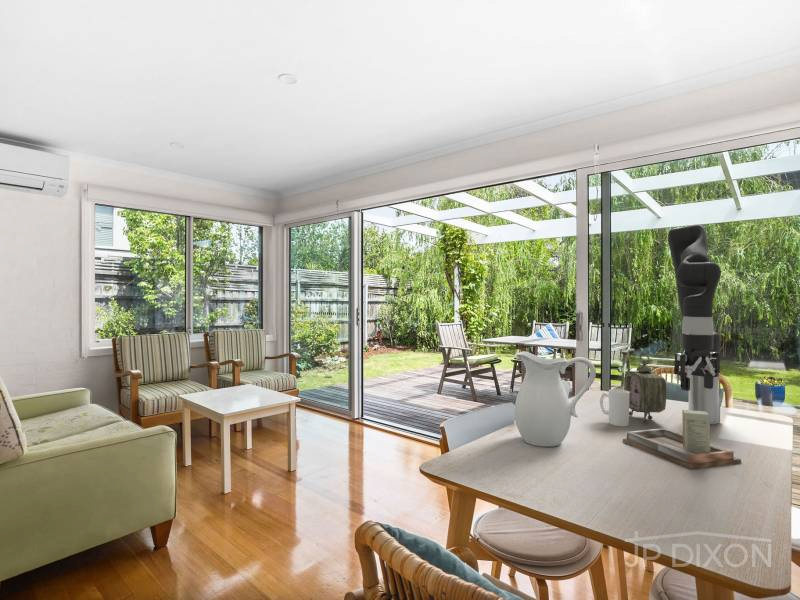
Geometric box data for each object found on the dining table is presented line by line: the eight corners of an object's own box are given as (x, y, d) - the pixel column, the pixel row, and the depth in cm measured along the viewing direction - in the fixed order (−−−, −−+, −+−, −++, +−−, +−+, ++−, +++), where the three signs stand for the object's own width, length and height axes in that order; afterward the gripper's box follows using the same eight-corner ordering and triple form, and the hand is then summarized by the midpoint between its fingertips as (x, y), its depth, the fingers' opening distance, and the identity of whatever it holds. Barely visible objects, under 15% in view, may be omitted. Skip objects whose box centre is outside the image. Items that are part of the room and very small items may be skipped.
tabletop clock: (623, 414, 177) (624, 350, 177) (647, 414, 177) (648, 350, 177) (641, 424, 163) (642, 355, 163) (667, 425, 163) (668, 355, 162)
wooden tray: (667, 436, 149) (667, 427, 149) (741, 462, 126) (741, 452, 126) (622, 441, 144) (622, 432, 144) (691, 469, 121) (691, 458, 121)
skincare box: (707, 453, 130) (708, 411, 130) (710, 458, 126) (711, 414, 126) (681, 450, 133) (681, 408, 133) (683, 455, 129) (684, 412, 129)
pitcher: (509, 445, 139) (510, 355, 139) (519, 430, 155) (520, 349, 154) (593, 457, 129) (594, 360, 129) (596, 440, 144) (596, 353, 144)
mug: (631, 424, 164) (632, 391, 163) (625, 428, 159) (626, 393, 159) (603, 418, 170) (603, 387, 170) (596, 422, 166) (596, 389, 166)
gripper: (704, 331, 134) (703, 385, 135) (666, 332, 130) (666, 388, 130) (729, 333, 127) (728, 390, 127) (690, 334, 123) (689, 393, 123)
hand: (696, 389), depth 129 cm, fingers open, 8 cm apart
